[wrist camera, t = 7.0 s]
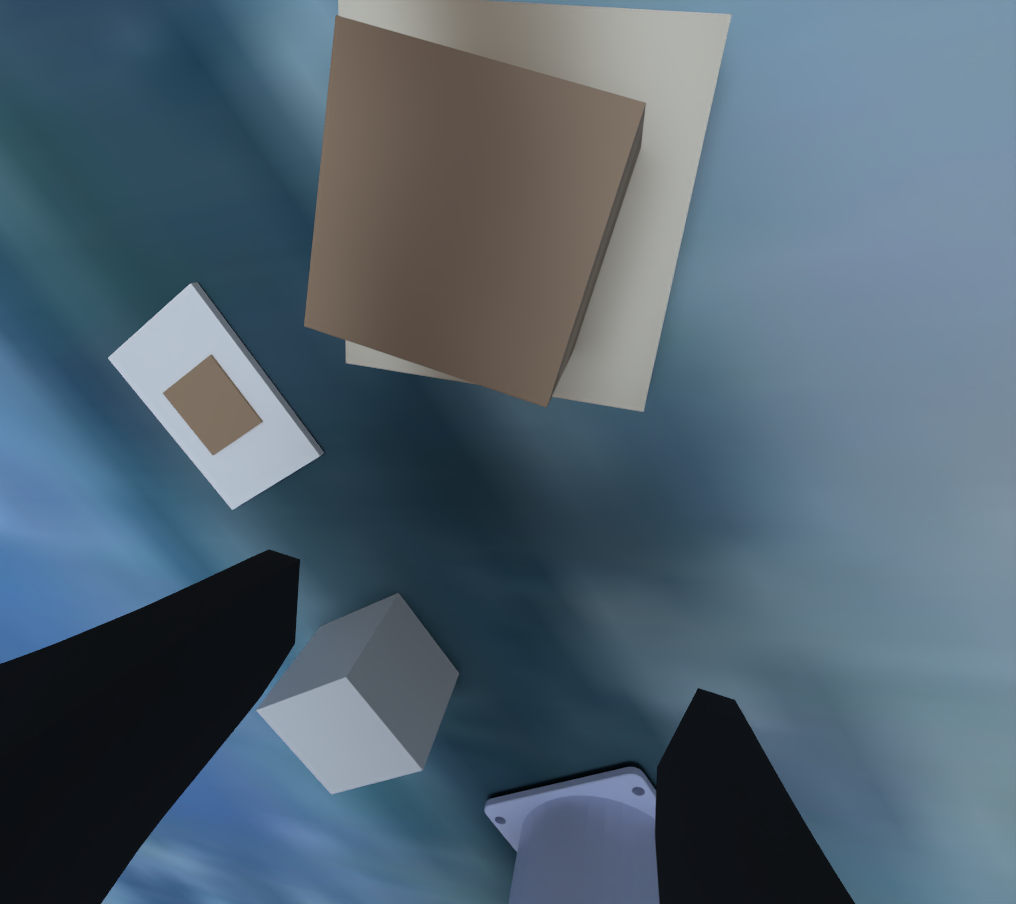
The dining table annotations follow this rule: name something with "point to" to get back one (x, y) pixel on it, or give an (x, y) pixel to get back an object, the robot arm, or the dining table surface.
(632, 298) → the birch base block
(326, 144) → the walnut block
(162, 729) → the robot arm
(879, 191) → the dining table surface
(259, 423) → the card
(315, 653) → the grey block
